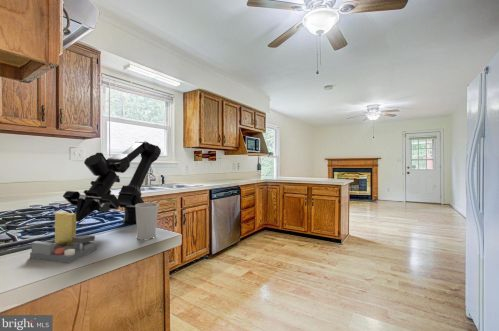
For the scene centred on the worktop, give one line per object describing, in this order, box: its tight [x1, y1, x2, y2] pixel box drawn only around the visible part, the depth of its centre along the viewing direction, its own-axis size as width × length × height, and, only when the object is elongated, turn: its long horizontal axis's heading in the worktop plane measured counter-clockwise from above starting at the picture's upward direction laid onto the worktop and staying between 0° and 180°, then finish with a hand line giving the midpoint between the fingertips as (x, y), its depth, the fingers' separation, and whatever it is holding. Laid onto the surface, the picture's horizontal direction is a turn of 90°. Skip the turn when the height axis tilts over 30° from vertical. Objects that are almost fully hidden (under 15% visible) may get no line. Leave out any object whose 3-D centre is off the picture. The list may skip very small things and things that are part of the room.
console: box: [29, 240, 97, 264], centre depth 73 cm, size 10×12×5 cm
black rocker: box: [72, 234, 96, 243], centre depth 75 cm, size 5×3×1 cm, turn 171°
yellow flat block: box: [54, 211, 77, 245], centre depth 76 cm, size 2×6×10 cm, turn 81°
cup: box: [135, 202, 160, 241], centre depth 90 cm, size 8×8×12 cm
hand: (77, 221), depth 80 cm, fingers closed
